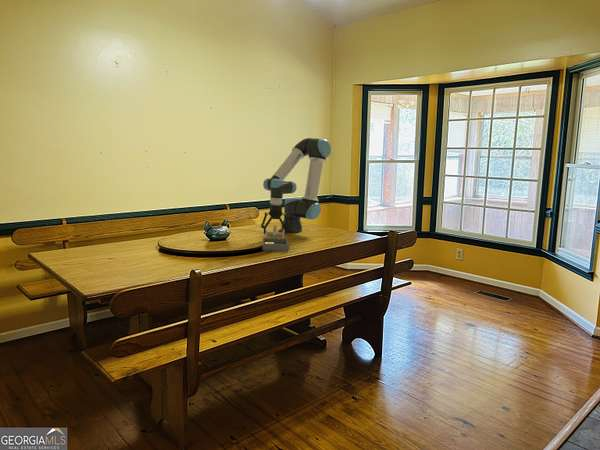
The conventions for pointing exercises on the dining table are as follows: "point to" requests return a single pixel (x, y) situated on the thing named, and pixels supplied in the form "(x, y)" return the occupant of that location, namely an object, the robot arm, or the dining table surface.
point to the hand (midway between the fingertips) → (274, 239)
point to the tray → (276, 244)
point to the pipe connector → (274, 232)
